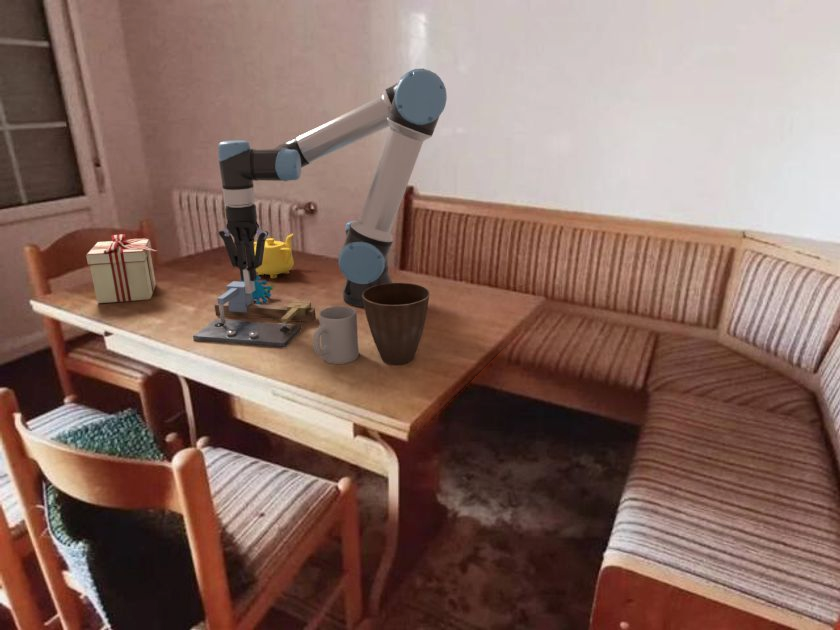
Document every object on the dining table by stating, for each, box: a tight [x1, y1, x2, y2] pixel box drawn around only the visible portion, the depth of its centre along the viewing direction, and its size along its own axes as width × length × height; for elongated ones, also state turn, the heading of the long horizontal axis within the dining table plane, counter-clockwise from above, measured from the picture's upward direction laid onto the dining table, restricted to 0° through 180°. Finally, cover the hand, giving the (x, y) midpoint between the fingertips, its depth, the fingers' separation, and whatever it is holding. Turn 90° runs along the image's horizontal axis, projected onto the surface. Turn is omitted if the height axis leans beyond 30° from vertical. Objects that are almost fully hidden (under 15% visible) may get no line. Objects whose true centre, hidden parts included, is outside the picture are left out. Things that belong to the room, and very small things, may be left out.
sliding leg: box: [216, 280, 255, 324], centre depth 154 cm, size 5×13×7 cm, turn 169°
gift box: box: [85, 233, 159, 304], centre depth 174 cm, size 17×18×17 cm
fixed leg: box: [280, 300, 312, 329], centre depth 152 cm, size 5×13×3 cm, turn 169°
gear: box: [240, 274, 275, 305], centre depth 169 cm, size 11×6×10 cm
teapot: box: [254, 233, 295, 279], centre depth 192 cm, size 14×14×12 cm
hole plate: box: [192, 318, 303, 349], centre depth 147 cm, size 24×11×2 cm, turn 79°
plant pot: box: [362, 282, 430, 366], centre depth 132 cm, size 15×15×16 cm
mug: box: [312, 305, 360, 365], centre depth 133 cm, size 12×8×11 cm
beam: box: [214, 302, 317, 323], centre depth 158 cm, size 28×2×3 cm, turn 79°
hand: (250, 291), depth 156 cm, fingers closed
